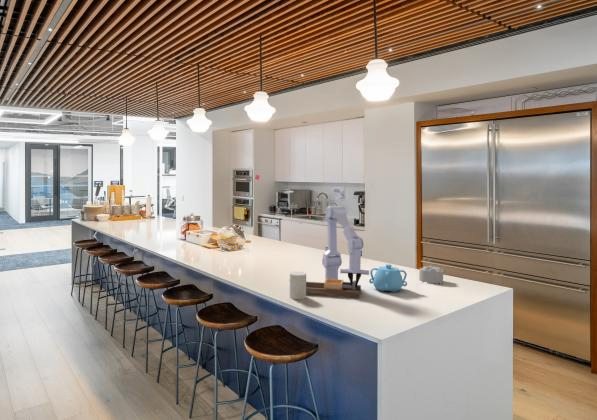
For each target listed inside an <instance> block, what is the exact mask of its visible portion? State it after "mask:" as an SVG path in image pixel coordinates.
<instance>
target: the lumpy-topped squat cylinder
mask: <svg viewBox="0 0 597 420" xmlns="http://www.w3.org/2000/svg"><path fill="white" fill-rule="evenodd" d="M418 276H419V277H418V278H419V279H418V281H419V280H420V281H422V282H421V283H424V282H427V283H426V284H430V283H443V284H444V269H443V268H441V267H439V266H434V265H429V266H428V265H425V266H422V267H420V268H419V275H418ZM420 281H419V282H420Z"/></svg>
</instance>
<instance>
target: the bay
mask: <svg viewBox="0 0 597 420" xmlns="http://www.w3.org/2000/svg"><path fill="white" fill-rule="evenodd" d="M343 285H344V284H343ZM348 286H351V285H348ZM361 291H362V286H361V284H357V288H356V289H355V291H352V288H343V290H337V289H324V282H320V281H318V282H316V281H306V296H308V295H309V296H321V297H336V298H350V299H360V297H361Z"/></svg>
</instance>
